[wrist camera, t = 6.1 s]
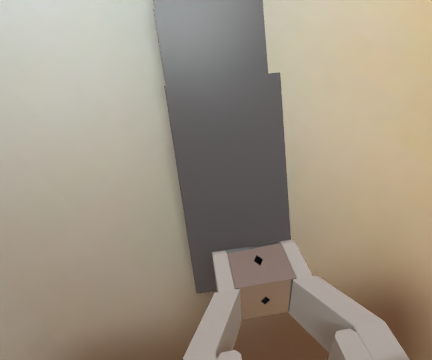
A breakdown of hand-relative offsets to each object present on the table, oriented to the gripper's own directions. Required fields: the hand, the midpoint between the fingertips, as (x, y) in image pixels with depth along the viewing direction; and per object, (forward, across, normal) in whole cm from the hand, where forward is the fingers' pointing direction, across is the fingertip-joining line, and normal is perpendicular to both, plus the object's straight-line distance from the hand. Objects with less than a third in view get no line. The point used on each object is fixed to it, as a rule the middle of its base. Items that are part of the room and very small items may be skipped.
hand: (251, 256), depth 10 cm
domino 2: (+3, 0, +4) cm, 5 cm away
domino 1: (+5, 0, +2) cm, 6 cm away
